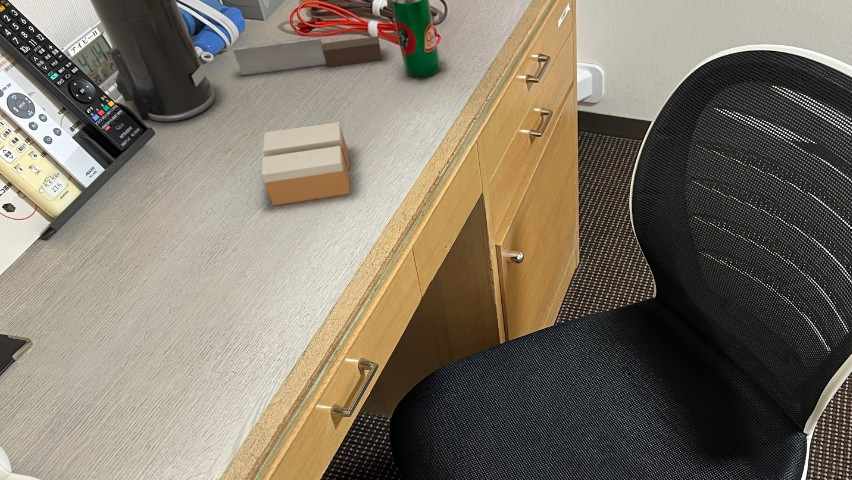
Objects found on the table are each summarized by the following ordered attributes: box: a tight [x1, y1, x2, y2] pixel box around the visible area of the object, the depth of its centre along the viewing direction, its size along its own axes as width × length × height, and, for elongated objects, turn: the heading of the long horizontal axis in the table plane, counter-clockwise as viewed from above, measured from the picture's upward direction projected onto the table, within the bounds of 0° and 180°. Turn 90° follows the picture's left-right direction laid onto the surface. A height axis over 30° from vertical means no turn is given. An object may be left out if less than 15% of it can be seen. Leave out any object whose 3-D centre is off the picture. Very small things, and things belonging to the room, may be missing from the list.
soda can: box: [389, 0, 441, 79], centre depth 114 cm, size 5×5×12 cm
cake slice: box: [260, 146, 351, 207], centre depth 98 cm, size 9×4×4 cm, turn 103°
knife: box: [232, 35, 384, 76], centre depth 119 cm, size 20×2×4 cm, turn 103°
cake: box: [262, 121, 350, 171], centre depth 101 cm, size 9×4×4 cm, turn 103°
